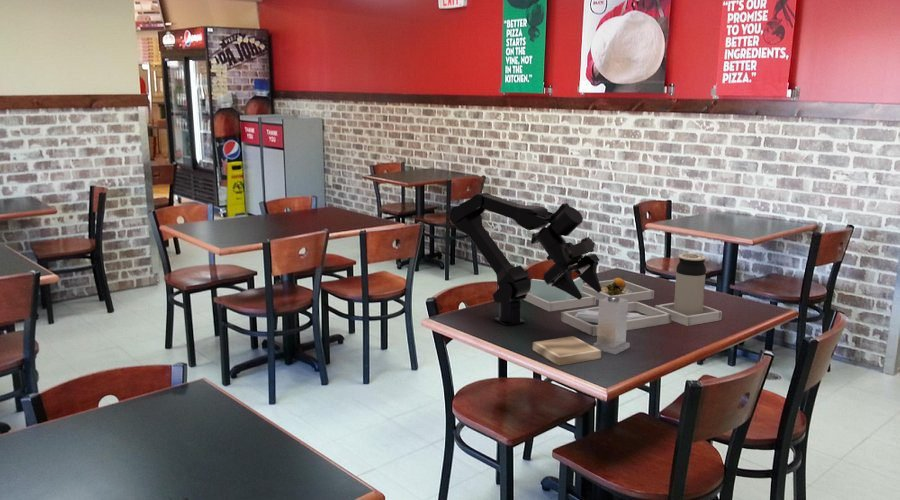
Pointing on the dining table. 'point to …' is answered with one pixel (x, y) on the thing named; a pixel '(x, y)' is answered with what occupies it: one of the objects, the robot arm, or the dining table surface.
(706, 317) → the mug tray rim
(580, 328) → the casing tray rim
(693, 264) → the travel mug
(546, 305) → the coaster tray rim
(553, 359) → the stand
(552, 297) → the right angle wall
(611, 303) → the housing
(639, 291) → the tray
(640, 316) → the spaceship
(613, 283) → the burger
